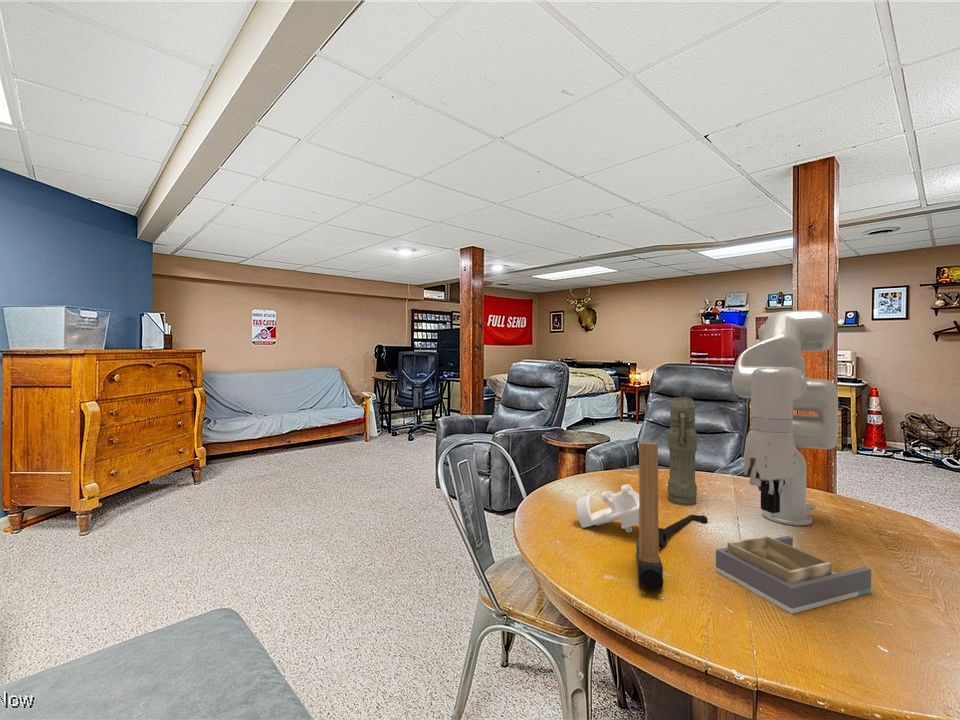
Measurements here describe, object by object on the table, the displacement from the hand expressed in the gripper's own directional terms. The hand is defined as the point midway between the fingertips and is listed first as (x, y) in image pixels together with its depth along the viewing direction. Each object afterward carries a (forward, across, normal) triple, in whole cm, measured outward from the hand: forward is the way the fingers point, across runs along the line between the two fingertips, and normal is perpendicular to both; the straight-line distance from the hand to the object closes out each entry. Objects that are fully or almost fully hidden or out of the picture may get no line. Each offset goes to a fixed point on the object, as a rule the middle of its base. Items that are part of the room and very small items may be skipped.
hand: (770, 510), depth 97 cm
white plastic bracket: (+17, +12, -38) cm, 44 cm away
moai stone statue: (+16, -24, -50) cm, 58 cm away
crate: (+15, -3, 0) cm, 15 cm away
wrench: (+17, -3, -28) cm, 33 cm away
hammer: (+17, +20, -13) cm, 30 cm away
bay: (+16, -7, 0) cm, 18 cm away
